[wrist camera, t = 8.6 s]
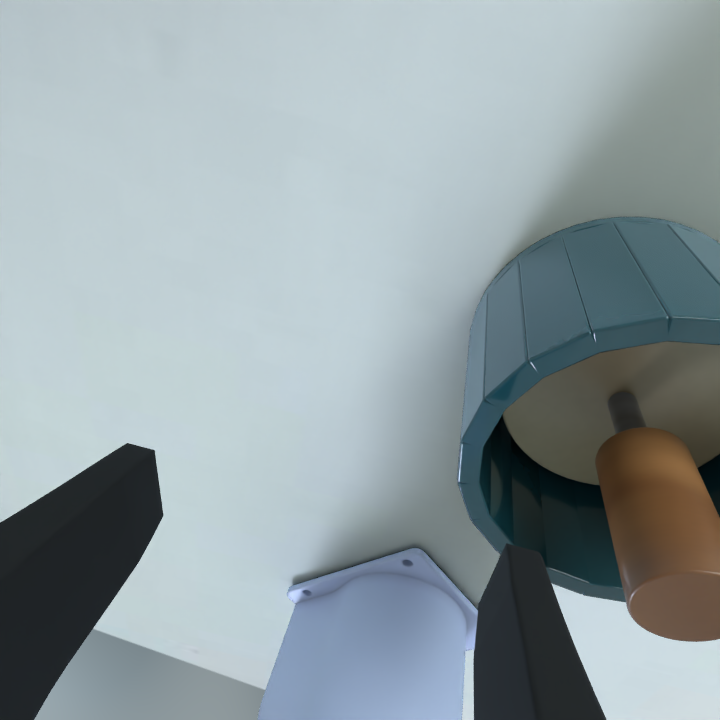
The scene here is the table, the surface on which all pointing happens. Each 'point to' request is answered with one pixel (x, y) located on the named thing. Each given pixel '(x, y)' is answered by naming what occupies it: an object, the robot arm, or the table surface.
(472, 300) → the table surface
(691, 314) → the teal drum lampshade
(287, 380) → the table surface
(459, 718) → the robot arm
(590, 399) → the disc with orange handle
